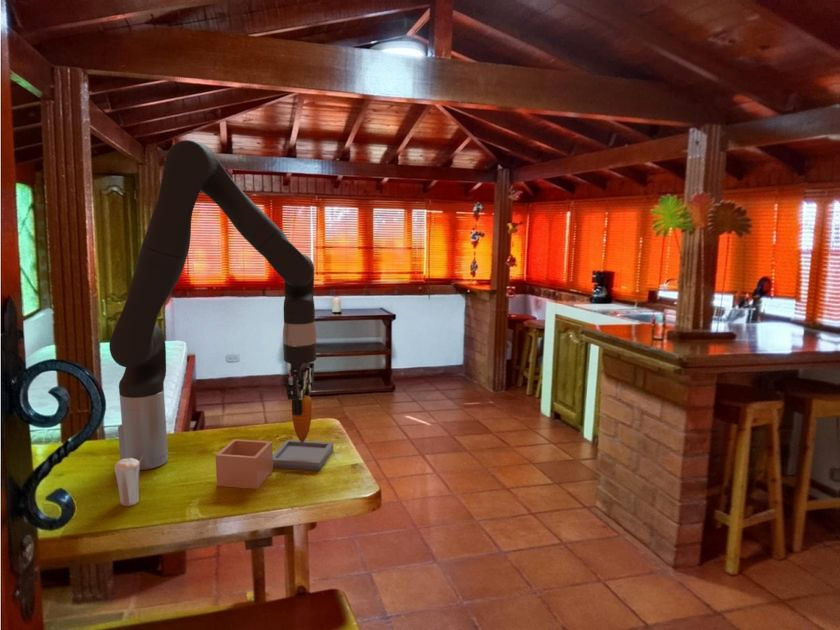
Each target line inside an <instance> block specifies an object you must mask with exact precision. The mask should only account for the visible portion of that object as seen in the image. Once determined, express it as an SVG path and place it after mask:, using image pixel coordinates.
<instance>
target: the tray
mask: <svg viewBox="0 0 840 630" xmlns="http://www.w3.org/2000/svg"><path fill="white" fill-rule="evenodd" d="M333 452H334V442H330V441H329V442H326V441H313V440H312V441H311V440H305V441H304V442H301V441H300V440H299V439H286V440H285V441H284V442H283V443H282V444H281V445H280V446H279V447H278V448H277V450H275V452H273V469H285V470H287V469H288V470H300V471H314V472H320V470H321V469H322V468H323V466H324V465H325V463H326V462H327V460H328V459H329V457H330V456H331V455H332V453H333Z"/></svg>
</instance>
